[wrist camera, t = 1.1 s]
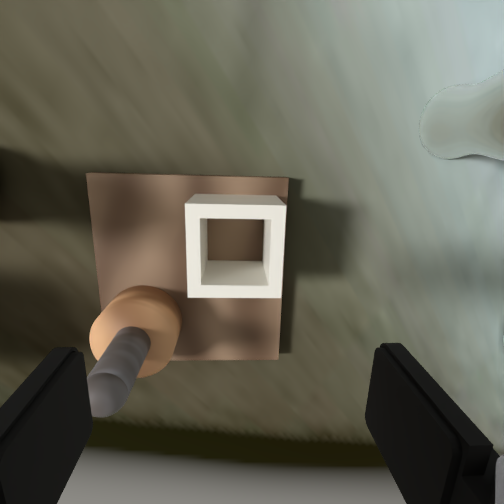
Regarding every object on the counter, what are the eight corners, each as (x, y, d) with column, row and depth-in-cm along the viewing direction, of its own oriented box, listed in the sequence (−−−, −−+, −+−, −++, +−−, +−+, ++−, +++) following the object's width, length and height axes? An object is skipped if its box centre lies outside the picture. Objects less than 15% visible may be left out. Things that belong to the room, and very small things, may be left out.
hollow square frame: (276, 195, 29) (286, 205, 23) (272, 271, 31) (281, 298, 25) (195, 193, 28) (184, 203, 22) (196, 270, 30) (187, 297, 24)
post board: (286, 177, 30) (322, 192, 17) (276, 351, 35) (299, 461, 22) (93, 172, 29) (-16, 185, 16) (112, 351, 34) (40, 466, 21)
